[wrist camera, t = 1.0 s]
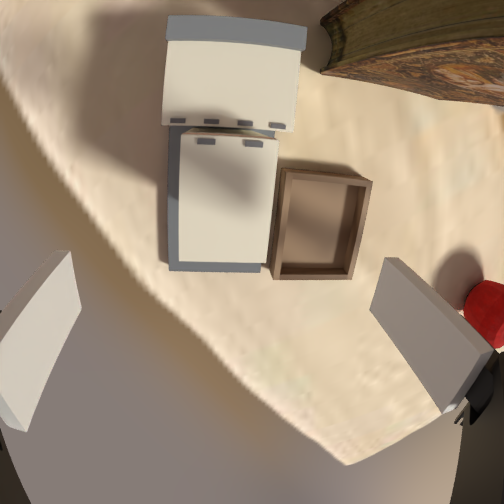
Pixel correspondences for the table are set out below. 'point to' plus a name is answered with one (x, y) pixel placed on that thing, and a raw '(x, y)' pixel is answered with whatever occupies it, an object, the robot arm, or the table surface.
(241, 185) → the stub
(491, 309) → the apple
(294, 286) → the table surface
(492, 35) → the book
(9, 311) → the robot arm
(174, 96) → the pad
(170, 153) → the board
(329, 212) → the tray
